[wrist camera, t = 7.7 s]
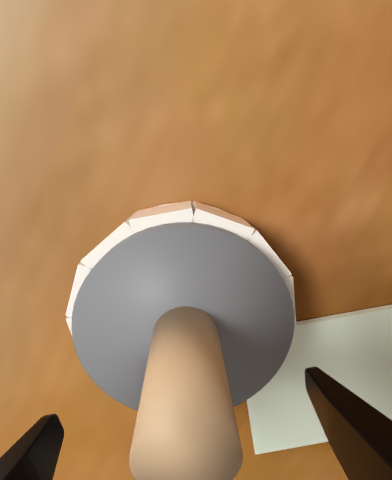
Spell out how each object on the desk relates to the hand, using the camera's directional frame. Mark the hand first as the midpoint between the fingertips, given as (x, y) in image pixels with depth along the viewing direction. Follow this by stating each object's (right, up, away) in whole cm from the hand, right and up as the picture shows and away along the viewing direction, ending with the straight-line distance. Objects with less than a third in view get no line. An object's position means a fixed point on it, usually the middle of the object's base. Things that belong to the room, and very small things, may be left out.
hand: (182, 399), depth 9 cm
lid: (0, +1, +4) cm, 5 cm away
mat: (+10, -6, +11) cm, 16 cm away
